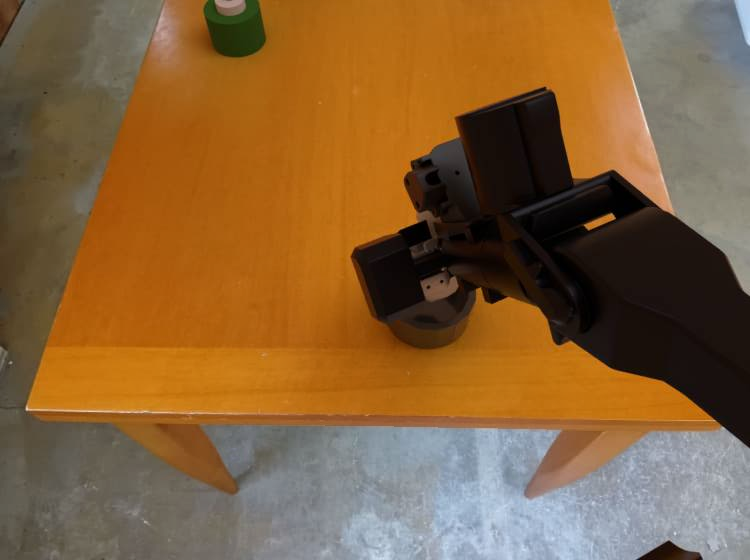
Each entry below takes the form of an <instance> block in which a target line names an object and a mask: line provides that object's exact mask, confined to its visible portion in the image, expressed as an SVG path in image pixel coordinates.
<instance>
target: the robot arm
mask: <svg viewBox="0 0 750 560" xmlns="http://www.w3.org/2000/svg"><path fill="white" fill-rule="evenodd" d="M453 118H454V121H455V125H456V128H457V132H458V136H459V137H456V138H453V139H450V140H448V141H445V142H442V143H439V144H437V145H435V146H434V147H433V148H432V149H431V151H430V152H429V153H428V154H425V155H422V156H420V157H418V158H415V159H412V160H410V164H409V165H410V168H411V170H409V171H407V172H406V174H405V175H404V177H403V186H404V188H405V190H406V193H407V195H408V197H409V199H410V201H411V204H412V206H413V208H414V210H415V212H416V211H417V212H418V213H422V212H425V211H430V212H431V213H432V215H433V217H434V218H438V217H440V219H438V220H436V221H433V224H434V228H435V231H436V234H437V236H436V237H434V238H432V236H431V233H430V230H429V227H428V223H427V220H424V221H421V222H419V223H418V222H416V223H413V224H411V225H409V226H406V227H403V228H401V229H399V230H398V231H397V232H395V233H391V234H386V235H383V236H380V237H377V238H375V239H372V240H370V241H367V242H365V243H361V244H359V245H357V246H355V247H354V248H353V250H352V252H351V254H350V259H351V262H352V265H353V269H354V272H355V274H356V277H357V279H358V283H359V285H360V288H361V291H362V294H363V297H364V300H365V303H366V306H367V309H368V311H369V314H370V316H371V318H373V319H374V320H376V321H378V322H379V323H382V324H385V325H386V326H388V325H387V324H389V323H392V322H394V321H396V320H399V319H401V318H403V317H406V316H408V315H410V314H413V313H415V312H417V311H420V310H422V309H424V308H425V304H426V298H425V297H428V296H431V295H433V294H435V293H438V292H440V291H442V290H445V289H446V288H447V287H448V286H449V284H450V279H451V278H452V277H455V276H456V280H457V283H458V286H459V290H460V292H462V293H465V294H467V293H469V292H471V291H474V290H476V291H477V290H478V289H481V294H482V297H483V300H484V302H485V303H487V304H490V305H493V304H496V303H499V302H500V301H503V300H505V299H507V298H511V299H514V300H516V301H519V302H523V303H525V304H527V305H530V306H533V307H536V308H538V309H539V310H540V312H541V313H542V315H543V316H544V317H545V318H546V320H547V323H548V328H549V331H550V332H549V333H550V336H551V340H552V342H553V343H554V344H555V345H556V346H558V347H560V346H563V345H565V344H567V343H569V342H572V343H573V344H575V345H576V346H577V347H579V348H581V349H582V350H583V351H585V352H586V353H588V354H589V355H590V356H592V357H593V358H595V359H596V360H597V361H599V362H600V363H602V364H603V365H605V366H606V367H607V368H610V369H611V370H613V371H617V372H620V373H626V374H630V375H635V376H638V377H642V378H647V379H652V380H656V381H660V382H663V383H666V385H668V386H669V387H671V388H673V389H674V390H676V391H677V392H679V393H680V394H681V395H683V396H685V398H687V399H688V400H689V401H691V402H692V403H693V404H694V405H695V406H697V407H698V408H699V409H701V410H702V411H703V412H704V413H705V414H706V415H708V416H709V417H711V419H712V420H714V421H715V422H716V423H717V424H718V425H720V426H722V428H723V429H725V430H726V431H727V432H729V433H730V434H731V435H733V436H734V437H735V438H736V439H737V440H738V441H740V442H741V443H742V444H743V445H745V446H746V447H747V448H748V449H750V294H748V293H747V292H745V290H744V289H743V287H742V285H741V283H740V280H739V279H738V276H737V274H736V272H735V270H734V268H733V266H732V264H731V262H730V261H731V260H729V257H728V256H727V254H726V253H725V252H724V251H723V250H722V249H720V248H719V247H717V246H716V245H715V244H714V243H712V242H711V241H709V240H708V239H707V238H706V237H704V236H703V235H702V234H700V233H698V232H697V231H696V230H695V229H693V228H692V227H691V226H690V225H688V224H687V223H685V222H684V221H682V220H681V219H680V218H678V217H677V216H675V214H672V213H671V212H669V211H666V210H664V209H663V208H662V207H660V206H659V205H658V204H657V203H655V202H654V201H653V200H652V199H650V198H649V197H648V196H647V195H646V194H645V193H643V192H642V191H641V190H640V189H638V188H637V187H636V186H635V185H633V183H631V182H630V181H628V180H627V179H626V178H625V177H624V176H622V174H620V173H619V172H618V171H616V170H615V169H610V170H607V171H604V172H602V173H600V174H597V175H594V176H592V177H585V178H584V177H581V178H579V177H573V174H572V170H571V165H570V162H569V157H568V153H567V149H566V145H565V140H564V135H563V131H562V125H561V123H562V122H561V115H560V109H559V105H558V100H557V97H556V93H555V92H554V91H553V90H552V88H547V86H542V87H539V88H535V89H532V90H529V91H526V92H522V93H519V94H517V95H513V96H510V97H507V98H503V99H501V100H498V101H494V102H492V103H489V104H486V105H483V106H480V107H476V108H475V109H472V110H469V111H466V112H464V113H461V114H458V115H455V116H454V117H453ZM611 214H612V216H613V217H614V219H612V220H610V221H606V222H605V223H602V224H599V225H597V226H595V227H593V228H590V229H588V228H587V227H586V225H588V224H590V223H593V222H594V221H597V220H599V219H601V218H605V217H607V216H609V215H611ZM440 248H441V250H440ZM443 268H444V271H443V270H442V269H443ZM635 560H704V558H703V556H702V554H701V553H700V552H699V551H690V550H686V549H684V548H682V547H680V546H678V545H676V543H674V542H673V541H671V540H670V539H668V540H666V541H664V542H663V543H662V544H660V545H658V546H656V547H655V548H653V549H651V550H649V551H648V552H646V553H644V554H643V555H641V556H639V557H637V558H636V559H635Z"/></svg>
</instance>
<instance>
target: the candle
mask: <svg viewBox="0 0 750 560" xmlns="http://www.w3.org/2000/svg"><path fill="white" fill-rule="evenodd" d="M261 9H262V8H261V4H260V1H259V0H207V1H206V2H205V4H204V5H203V9H202V11H203V16H204V19H205V24H206V27H207V30H208V33H209V37H210V41H211V44H212V47H213V49H214V50H215V51H216V52H217V53H218V54H220V55H222V56H225V57H229V58H243V57H248V56H250V55H254V54H255V53H257V52H258V51H260V50H261V49H262V48H263V47H264V45H265V44H266V40H267V36H266V30H265V25H264V20H263V16H262V10H261Z"/></svg>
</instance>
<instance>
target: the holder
mask: <svg viewBox="0 0 750 560" xmlns="http://www.w3.org/2000/svg"><path fill="white" fill-rule="evenodd" d="M476 302H477V289H476V290H474V291H471V292H469V293H467V294H465V293H462V292H460V290H459V286H458V288H457V290H456V292H454V293H452V294H451V295H449V296H448V297H445V298H442V299H439V300H436V301H433V302H430V301H428V300H426V304H425V308H424V309H422V310H420V311H417V312H415V313H413V314H410V315H408V316H406V317H403V318H401V319H399V320H396V321H394V322H392V323H389V324H387V325H386V326H387V327H388V329H389V330H390V332H391V333H392V334H393V335H394V336H395V337H396V338H397V339H398V340H399V341H401V342H403V344H405V345H408V346H411V347H413V348H416V349H422V350H435V349H441V348H444V347H447V346H450V345H452V344H453V343H455V342H456V341H457V340H458V339H460V338H461V337H462V336H463V334H464V333H465V331H466V330H467V328H468V326H469V323H470V321H471V319H472V316H473V312H474V309H475V306H476Z"/></svg>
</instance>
